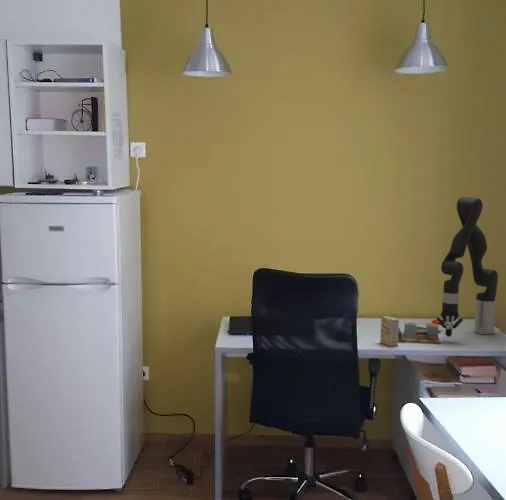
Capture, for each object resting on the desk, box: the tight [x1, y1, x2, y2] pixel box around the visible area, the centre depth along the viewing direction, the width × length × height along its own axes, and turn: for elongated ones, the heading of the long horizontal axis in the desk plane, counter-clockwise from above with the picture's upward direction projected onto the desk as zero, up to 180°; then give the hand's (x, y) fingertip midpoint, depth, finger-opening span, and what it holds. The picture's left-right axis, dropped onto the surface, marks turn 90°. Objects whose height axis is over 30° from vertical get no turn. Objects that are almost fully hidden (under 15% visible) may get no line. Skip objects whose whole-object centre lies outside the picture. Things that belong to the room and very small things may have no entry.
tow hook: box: [431, 318, 445, 325], centre depth 361 cm, size 8×13×9 cm
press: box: [398, 328, 442, 345], centre depth 323 cm, size 20×12×4 cm, turn 83°
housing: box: [403, 321, 417, 339], centre depth 323 cm, size 5×4×8 cm
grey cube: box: [425, 322, 439, 337], centre depth 322 cm, size 5×6×6 cm
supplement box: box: [379, 315, 400, 348], centre depth 314 cm, size 8×5×13 cm, turn 23°
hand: (448, 336), depth 321 cm, fingers closed
